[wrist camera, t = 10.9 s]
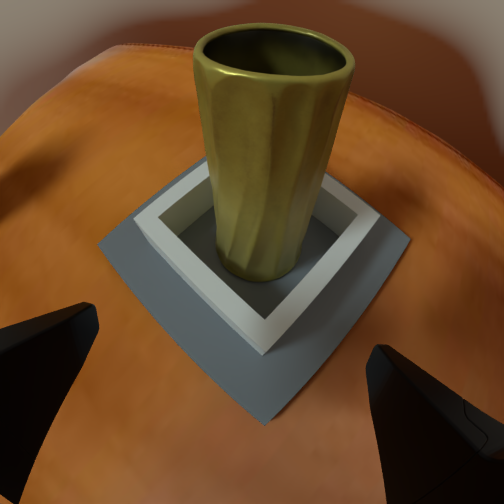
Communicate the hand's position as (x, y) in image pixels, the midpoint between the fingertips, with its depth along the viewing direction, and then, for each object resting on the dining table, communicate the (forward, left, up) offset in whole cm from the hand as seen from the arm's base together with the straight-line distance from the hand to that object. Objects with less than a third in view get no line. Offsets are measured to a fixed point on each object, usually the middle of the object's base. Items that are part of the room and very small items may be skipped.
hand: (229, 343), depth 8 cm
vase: (+5, -7, -10) cm, 13 cm away
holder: (+5, -7, -11) cm, 13 cm away
